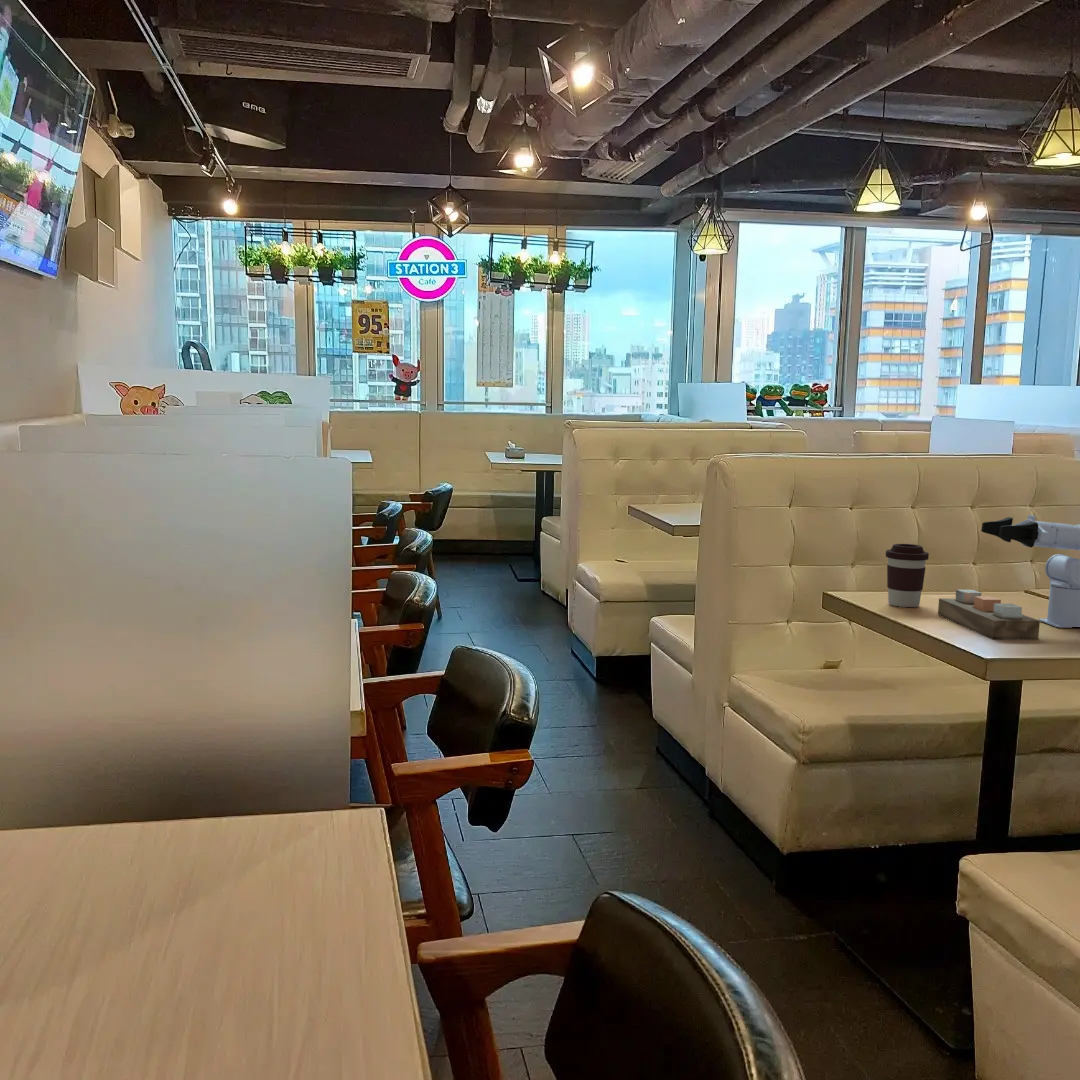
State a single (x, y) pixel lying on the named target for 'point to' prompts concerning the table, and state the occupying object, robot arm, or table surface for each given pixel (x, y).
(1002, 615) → the pale grey square block
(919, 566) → the coffee cup
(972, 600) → the steel plunger
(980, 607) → the orange square block
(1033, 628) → the block
